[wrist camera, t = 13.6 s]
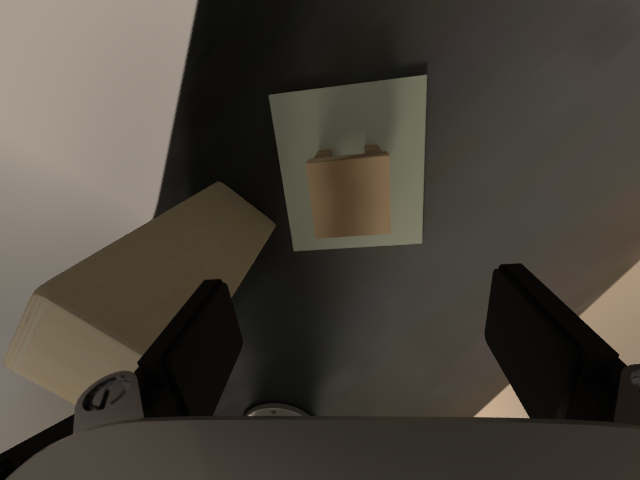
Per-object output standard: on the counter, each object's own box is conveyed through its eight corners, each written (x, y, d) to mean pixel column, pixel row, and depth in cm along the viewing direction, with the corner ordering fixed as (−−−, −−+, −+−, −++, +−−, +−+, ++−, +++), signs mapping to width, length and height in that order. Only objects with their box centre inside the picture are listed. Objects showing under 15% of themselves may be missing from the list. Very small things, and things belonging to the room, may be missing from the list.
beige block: (186, 226, 35) (-6, 373, 16) (217, 178, 32) (32, 287, 13) (242, 266, 37) (128, 443, 18) (277, 223, 34) (187, 379, 15)
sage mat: (419, 239, 33) (422, 243, 32) (295, 247, 35) (293, 251, 34) (424, 75, 27) (426, 74, 26) (271, 95, 29) (268, 94, 28)
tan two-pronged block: (379, 141, 29) (389, 155, 21) (381, 202, 31) (391, 233, 24) (316, 148, 29) (305, 163, 22) (322, 207, 32) (315, 238, 24)
